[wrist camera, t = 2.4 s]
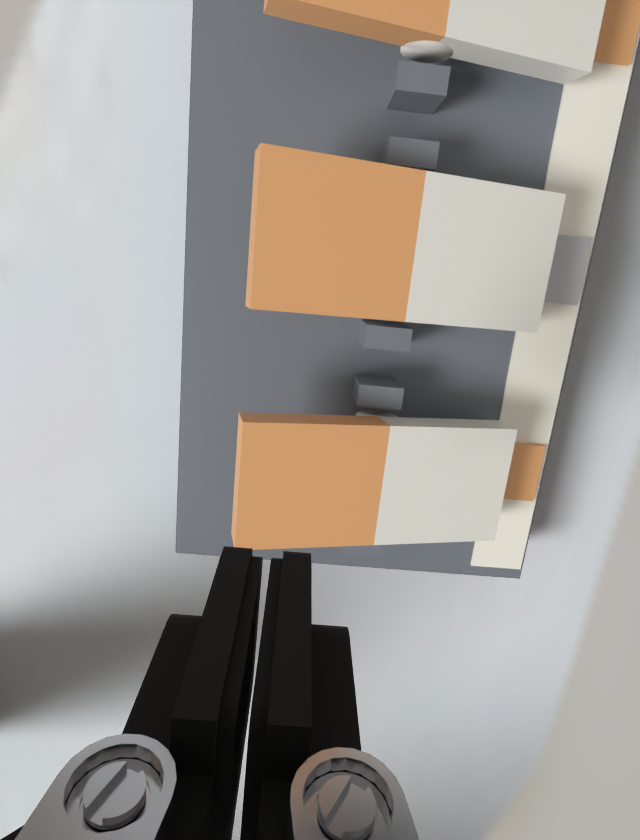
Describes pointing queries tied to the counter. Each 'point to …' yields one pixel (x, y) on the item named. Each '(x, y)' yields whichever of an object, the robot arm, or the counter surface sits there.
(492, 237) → the switch
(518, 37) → the switch
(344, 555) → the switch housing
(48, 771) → the counter surface
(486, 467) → the switch
